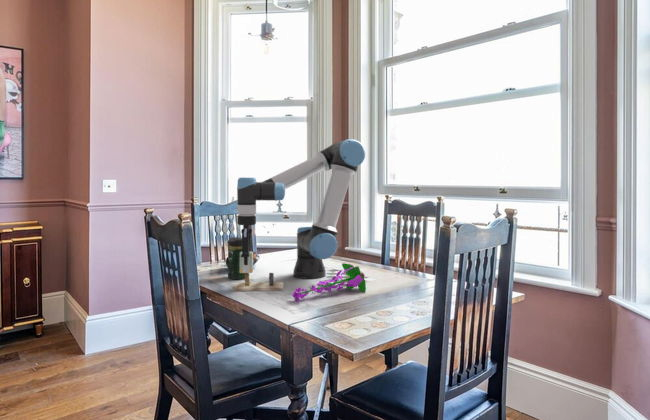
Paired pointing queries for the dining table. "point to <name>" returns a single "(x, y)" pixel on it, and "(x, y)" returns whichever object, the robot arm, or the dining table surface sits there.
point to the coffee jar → (234, 258)
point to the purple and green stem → (353, 281)
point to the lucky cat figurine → (255, 259)
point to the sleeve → (249, 262)
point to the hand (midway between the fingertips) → (246, 271)
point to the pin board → (259, 285)
